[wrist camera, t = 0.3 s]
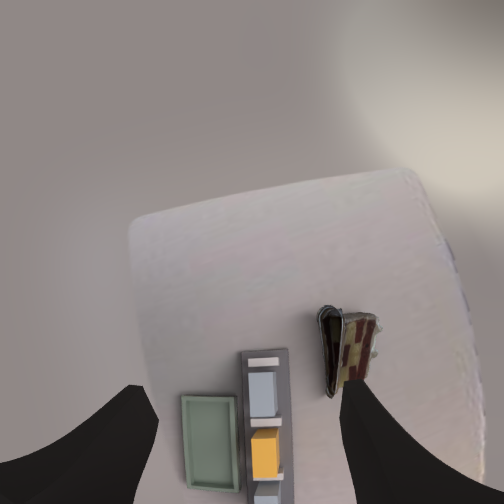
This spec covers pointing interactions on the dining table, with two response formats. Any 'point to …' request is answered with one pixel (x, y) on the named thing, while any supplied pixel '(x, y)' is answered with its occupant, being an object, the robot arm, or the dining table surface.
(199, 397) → the tray
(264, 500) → the block
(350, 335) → the chocolate cake
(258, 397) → the block
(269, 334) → the dining table surface
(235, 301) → the dining table surface
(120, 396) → the robot arm
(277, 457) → the block
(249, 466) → the block
